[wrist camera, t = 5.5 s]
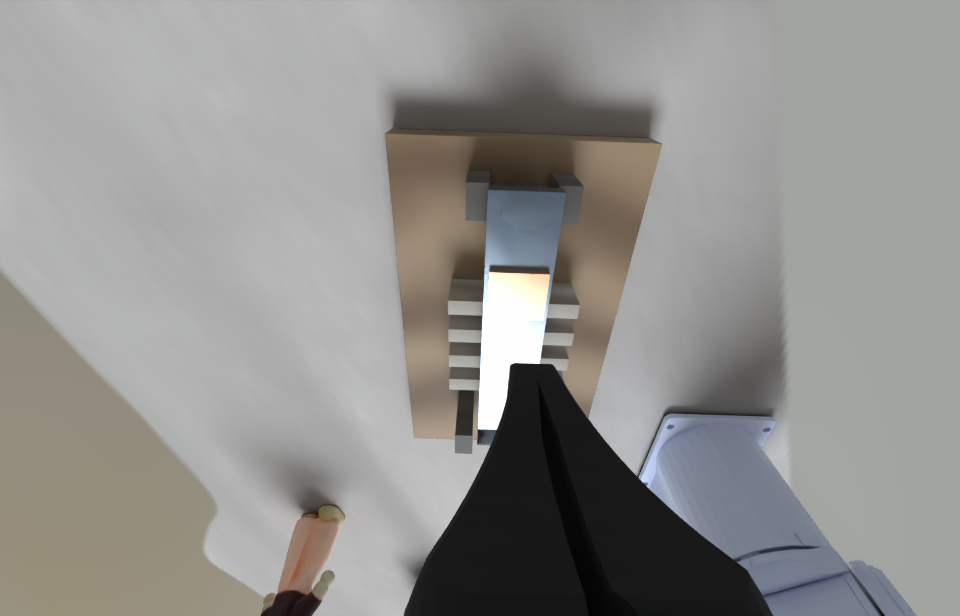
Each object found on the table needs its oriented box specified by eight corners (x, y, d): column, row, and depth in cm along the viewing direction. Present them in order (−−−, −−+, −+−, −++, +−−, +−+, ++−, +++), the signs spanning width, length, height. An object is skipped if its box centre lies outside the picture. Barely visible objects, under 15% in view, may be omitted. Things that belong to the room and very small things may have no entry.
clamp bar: (523, 418, 25) (527, 451, 23) (478, 416, 25) (477, 449, 23) (557, 178, 16) (567, 195, 14) (487, 175, 16) (487, 193, 14)
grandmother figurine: (324, 493, 34) (248, 692, 23) (360, 510, 35) (305, 705, 24) (281, 525, 37) (197, 714, 26) (316, 540, 38) (250, 725, 27)
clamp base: (577, 426, 28) (592, 489, 24) (417, 421, 28) (405, 483, 24) (649, 138, 18) (700, 160, 13) (392, 128, 18) (362, 148, 13)
